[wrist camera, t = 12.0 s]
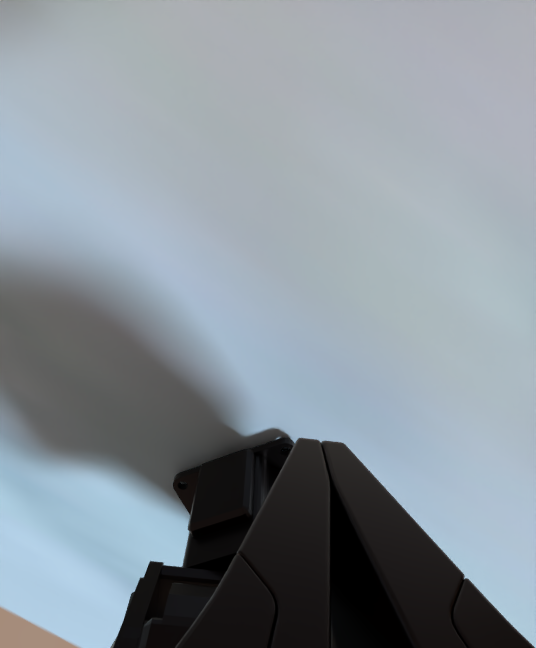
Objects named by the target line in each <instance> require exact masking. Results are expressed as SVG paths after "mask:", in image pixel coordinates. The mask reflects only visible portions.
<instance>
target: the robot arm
mask: <svg viewBox="0 0 536 648" xmlns="http://www.w3.org/2000/svg"><path fill="white" fill-rule="evenodd" d="M283 447H287V448H289V449H288V450H286V451H283V450H281V448H283ZM180 482H186V483H187V484H181V483H180ZM173 488H174V490H175V491H176V493H177V495H178V496H179V498H180V499H181V501H182V503H183V504H184V506H185V507H186V509H187V511H188V512H189V514H190V519H189V524H188V530H189V536H188V541H187V546H186V551H185V556H184V561H183V566H182V567H176V566H166V565H163V562H153V561H150V563H149V565H148V568H147V571H146V573H145V576H144V578H140V580H139V582H138V585H137V587H136V590H135V592H133V593H132V594H131V597H130V600H129V604H128V607H127V611H126V614H125V617H124V621H123V623H122V626H121V628H120V631H119V633H118V636H117V637H116V639H115V641H114V642H113V644H112V646H111V647H110V648H535V647H534V646H533V645H532V644H531V643H530V642H529V641H528V640H526V639H525V638H524V637H523V636H522V635H521V634H520V633H519V632H518V631H517V630H516V629H515V628H514V627H513V626H512V625H511V624H510V623H509V622H508V621H507V620H506V619H505V618H504V616H503V615H502V614H501V613H500V612H499V611H498V610H497V609H496V608H495V607H494V606H493V605H492V604H491V603H490V602H489V601H488V600H487V599H486V598H485V597H484V595H483V594H482V593H481V592H480V591H479V590H478V589H477V588H476V587H475V586H474V585H473V583H472V582H471V581H470V580H469V579H467V578H465V579H464V577H465V576H464V574H463V573H462V572H461V571H460V569H459V568H458V567H457V566H456V565H455V564H454V563H453V562H452V561H451V560H450V559H449V557H448V556H447V555H446V554H445V553H444V552H443V551H442V550H441V549H440V548H439V547H438V545H437V544H436V543H435V542H434V541H433V540H432V539H431V538H430V537H429V536H428V535H427V533H426V532H425V531H424V530H423V529H422V528H421V527H420V526H419V525H418V524H417V523H416V521H415V520H414V519H413V518H412V517H411V516H410V515H409V514H408V513H407V512H406V510H405V509H404V508H403V507H402V506H401V505H400V504H399V503H398V502H397V501H396V500H395V498H394V497H393V496H392V495H391V494H390V493H389V492H388V491H387V490H386V489H385V488H384V486H383V485H382V484H381V483H380V482H379V481H378V480H377V479H376V478H375V477H374V476H373V474H372V473H371V472H370V471H369V470H368V469H367V468H366V467H365V466H364V465H363V463H362V462H361V461H360V460H359V459H358V458H357V457H356V456H355V455H354V454H353V453H352V451H351V450H350V449H349V448H348V447H347V446H346V445H345V444H344V443H341V442H332V441H322V442H321V443H320V441H319V440H314V439H306V438H299V439H298V440H297V441H296V443H294V442H293V441H292V440H291V439H288V438H281V439H278V440H275V441H272V442H269V443H266V444H264V445H261V446H258V447H255V448H252V449H245V450H242V451H239V452H236V453H233V454H230V455H228V456H225V457H222V458H219V459H216V460H213V461H210V462H207V463H204V464H202V466H199V467H196V468H193V469H190V470H187V471H184V472H181V473H179V474H177V475H176V476H175V478H174V482H173Z"/></svg>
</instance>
